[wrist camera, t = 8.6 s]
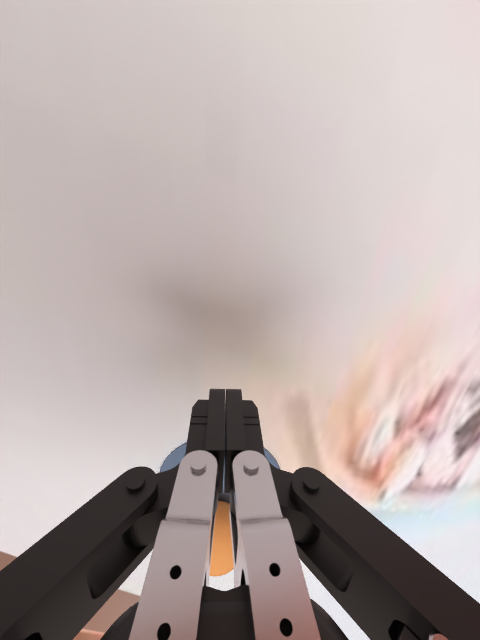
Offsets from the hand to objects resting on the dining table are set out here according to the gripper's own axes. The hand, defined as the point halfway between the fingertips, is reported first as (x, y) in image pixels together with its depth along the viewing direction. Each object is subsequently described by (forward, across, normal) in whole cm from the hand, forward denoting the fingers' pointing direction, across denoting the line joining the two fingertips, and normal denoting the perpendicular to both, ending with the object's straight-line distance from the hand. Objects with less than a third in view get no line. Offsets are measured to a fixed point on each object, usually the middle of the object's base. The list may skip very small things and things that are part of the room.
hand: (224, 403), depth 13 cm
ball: (+5, 0, +20) cm, 21 cm away
